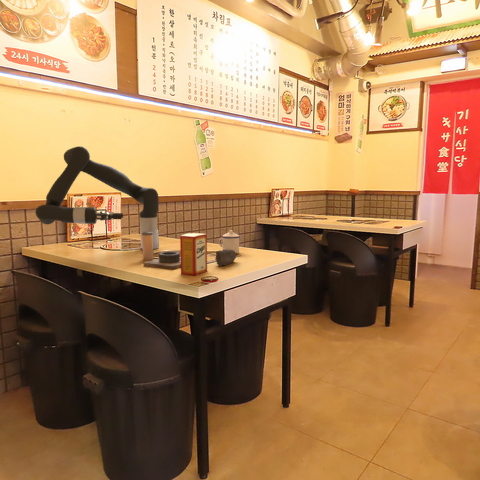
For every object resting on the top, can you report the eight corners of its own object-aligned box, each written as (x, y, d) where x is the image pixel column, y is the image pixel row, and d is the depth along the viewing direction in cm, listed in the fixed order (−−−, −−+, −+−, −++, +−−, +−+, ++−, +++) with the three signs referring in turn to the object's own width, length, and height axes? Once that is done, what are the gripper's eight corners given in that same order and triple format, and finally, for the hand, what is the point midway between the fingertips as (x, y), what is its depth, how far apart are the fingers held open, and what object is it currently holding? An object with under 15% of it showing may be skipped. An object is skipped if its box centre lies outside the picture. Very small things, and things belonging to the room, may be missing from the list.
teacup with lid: (242, 252, 209) (242, 230, 207) (233, 254, 201) (233, 232, 200) (223, 250, 215) (223, 228, 214) (214, 252, 208) (214, 230, 206)
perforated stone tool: (230, 260, 187) (230, 246, 186) (240, 262, 184) (240, 247, 183) (211, 266, 174) (211, 250, 173) (221, 267, 172) (221, 252, 171)
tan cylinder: (147, 258, 193) (146, 231, 191) (155, 259, 190) (154, 232, 188) (140, 259, 188) (139, 232, 186) (148, 260, 186) (147, 233, 184)
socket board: (166, 259, 189) (166, 249, 188) (194, 262, 181) (194, 252, 181) (143, 265, 175) (143, 254, 174) (172, 269, 168) (172, 258, 167)
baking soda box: (193, 269, 168) (193, 232, 166) (207, 271, 165) (206, 232, 163) (180, 274, 160) (180, 234, 157) (194, 275, 157) (194, 235, 154)
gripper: (82, 207, 173) (121, 208, 176) (87, 206, 187) (123, 207, 190) (82, 225, 174) (121, 225, 177) (87, 222, 188) (123, 222, 191)
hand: (122, 216), depth 184 cm, fingers open, 8 cm apart
